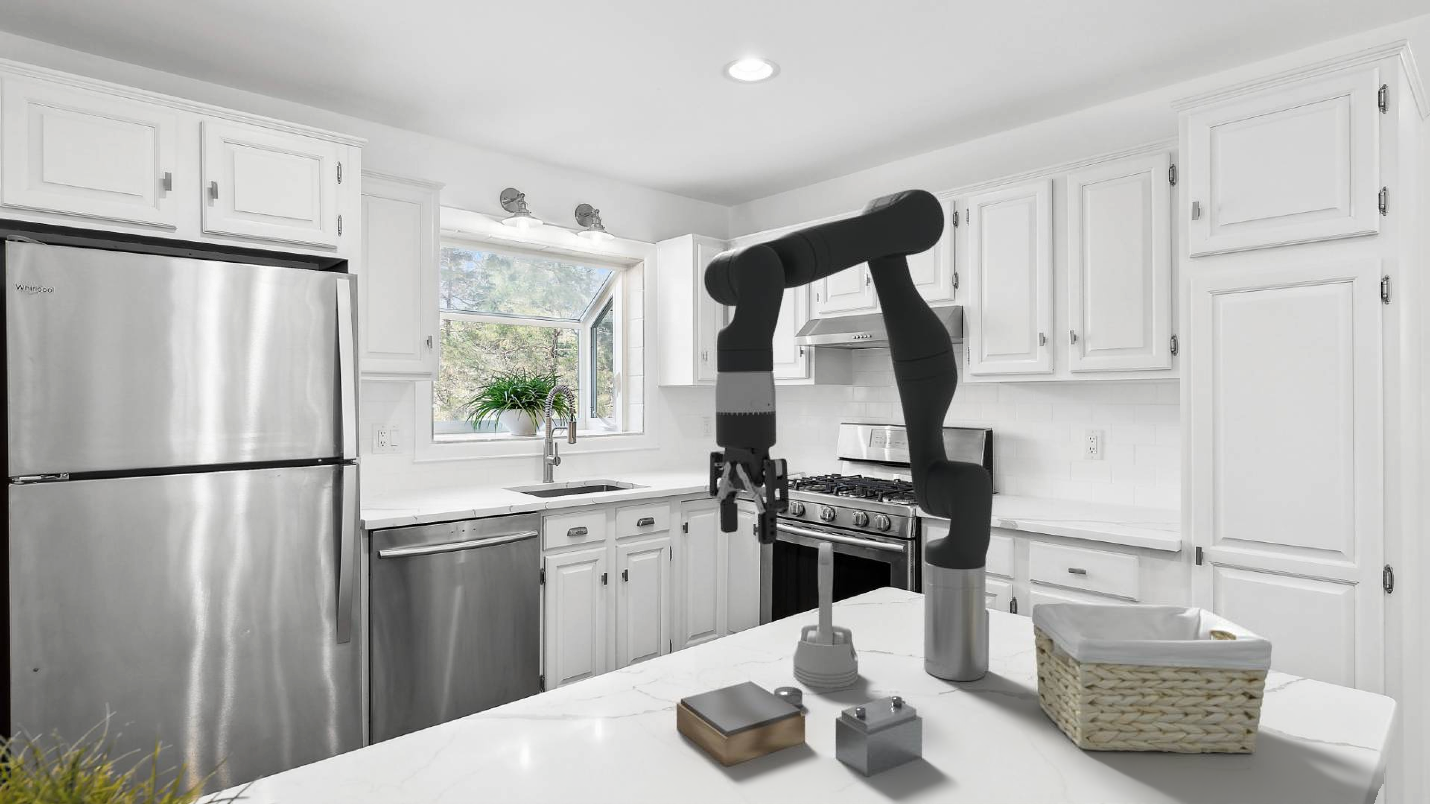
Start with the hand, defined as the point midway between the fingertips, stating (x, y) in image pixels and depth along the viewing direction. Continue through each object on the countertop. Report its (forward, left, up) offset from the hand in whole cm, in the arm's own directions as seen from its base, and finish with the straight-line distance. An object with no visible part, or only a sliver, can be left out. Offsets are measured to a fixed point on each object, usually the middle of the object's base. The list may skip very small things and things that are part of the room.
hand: (747, 537), depth 96 cm
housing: (-12, +11, -27) cm, 31 cm away
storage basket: (-46, +25, -27) cm, 59 cm away
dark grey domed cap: (-12, -7, -27) cm, 30 cm away
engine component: (-24, -13, -27) cm, 38 cm away
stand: (-1, -3, -26) cm, 26 cm away
